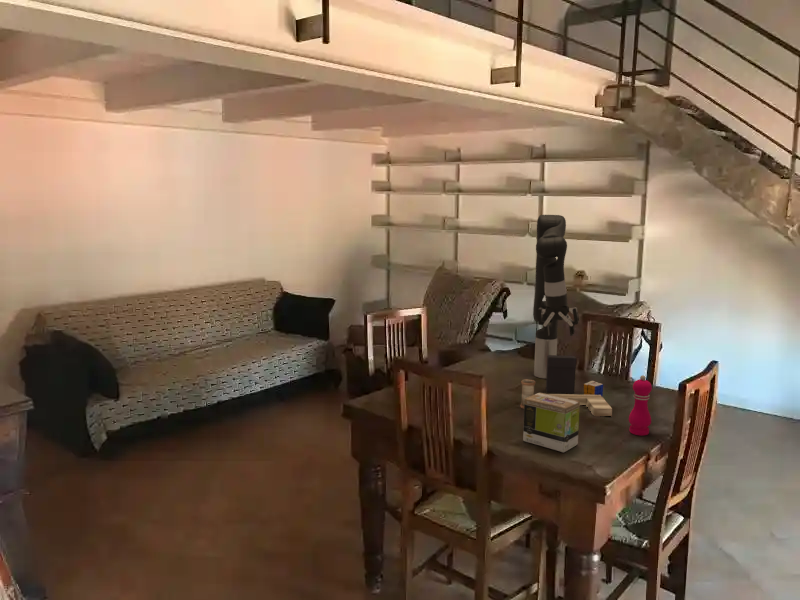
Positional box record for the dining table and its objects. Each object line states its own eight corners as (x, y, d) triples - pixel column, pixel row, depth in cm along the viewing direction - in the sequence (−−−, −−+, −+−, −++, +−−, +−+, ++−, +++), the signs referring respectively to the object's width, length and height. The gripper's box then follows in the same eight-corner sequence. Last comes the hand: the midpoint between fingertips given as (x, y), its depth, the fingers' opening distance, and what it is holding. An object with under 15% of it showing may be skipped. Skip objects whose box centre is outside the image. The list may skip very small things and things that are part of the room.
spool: (519, 404, 252) (520, 379, 250) (533, 404, 252) (534, 379, 250) (521, 409, 247) (522, 383, 245) (535, 409, 246) (536, 383, 245)
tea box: (578, 444, 213) (581, 400, 211) (563, 453, 206) (565, 408, 203) (537, 433, 223) (539, 390, 221) (521, 441, 216) (523, 397, 213)
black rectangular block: (572, 391, 269) (574, 355, 266) (574, 394, 265) (576, 358, 262) (545, 390, 270) (547, 354, 267) (546, 393, 266) (548, 357, 263)
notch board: (547, 401, 256) (548, 393, 255) (600, 402, 255) (600, 394, 255) (556, 415, 240) (556, 407, 239) (611, 416, 239) (612, 408, 239)
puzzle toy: (592, 393, 266) (592, 380, 265) (602, 397, 262) (603, 383, 261) (583, 396, 262) (583, 382, 261) (593, 399, 258) (594, 385, 257)
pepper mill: (632, 426, 229) (636, 371, 226) (653, 431, 225) (657, 375, 221) (624, 432, 224) (628, 375, 220) (645, 437, 219) (650, 379, 216)
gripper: (577, 288, 236) (581, 331, 240) (538, 290, 242) (542, 331, 246) (574, 295, 230) (577, 338, 234) (533, 296, 236) (538, 338, 240)
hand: (559, 335), depth 240 cm, fingers open, 8 cm apart
